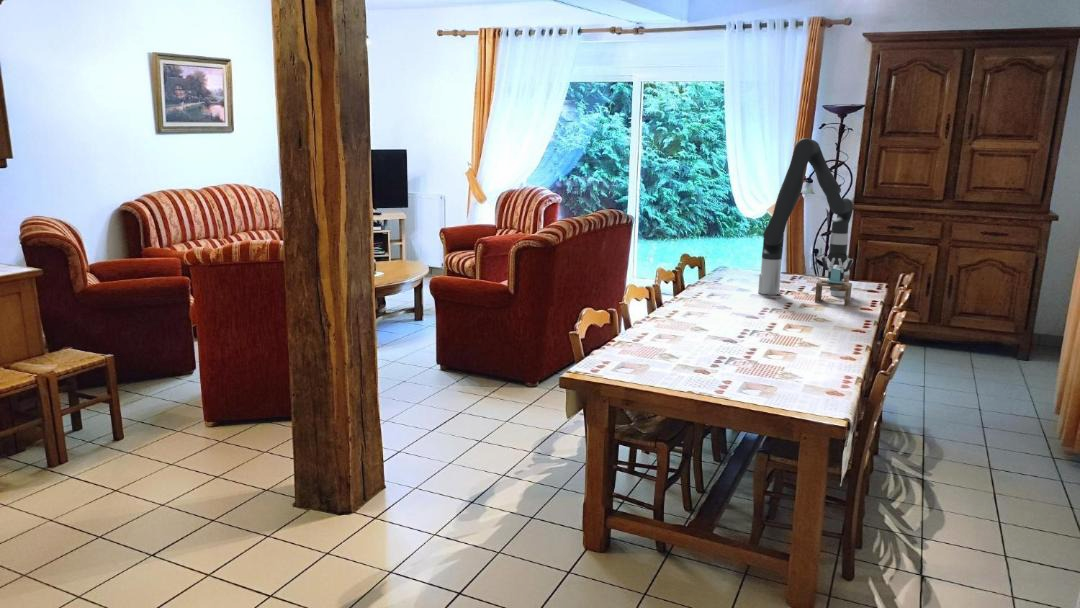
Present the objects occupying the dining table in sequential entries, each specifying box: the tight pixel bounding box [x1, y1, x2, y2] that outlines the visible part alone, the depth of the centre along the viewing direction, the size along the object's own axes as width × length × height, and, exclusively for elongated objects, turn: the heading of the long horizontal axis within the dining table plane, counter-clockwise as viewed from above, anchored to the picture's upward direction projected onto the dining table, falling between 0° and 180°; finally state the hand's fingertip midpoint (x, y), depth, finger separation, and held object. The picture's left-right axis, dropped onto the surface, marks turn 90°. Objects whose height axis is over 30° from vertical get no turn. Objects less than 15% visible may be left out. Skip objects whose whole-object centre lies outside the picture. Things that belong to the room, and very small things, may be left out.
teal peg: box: [826, 267, 844, 292], centre depth 353 cm, size 7×7×10 cm
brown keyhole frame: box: [814, 279, 853, 307], centre depth 354 cm, size 14×9×9 cm, turn 60°
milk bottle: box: [830, 254, 850, 298], centre depth 368 cm, size 8×8×20 cm
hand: (835, 279), depth 353 cm, fingers closed on teal peg, 4 cm apart
